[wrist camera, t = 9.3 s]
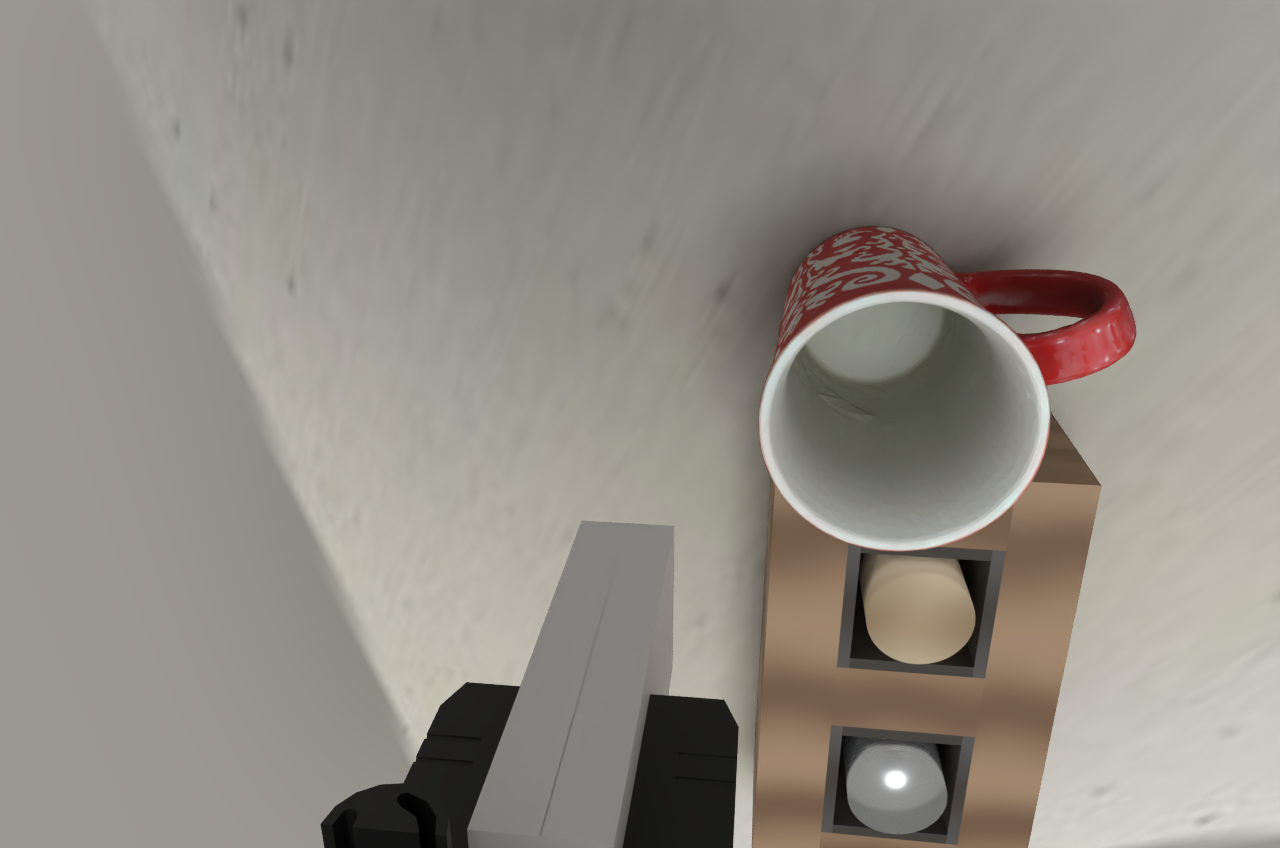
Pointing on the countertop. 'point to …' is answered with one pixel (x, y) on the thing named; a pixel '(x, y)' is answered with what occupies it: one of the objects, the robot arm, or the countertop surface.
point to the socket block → (920, 671)
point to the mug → (921, 386)
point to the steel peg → (894, 783)
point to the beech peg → (916, 606)
